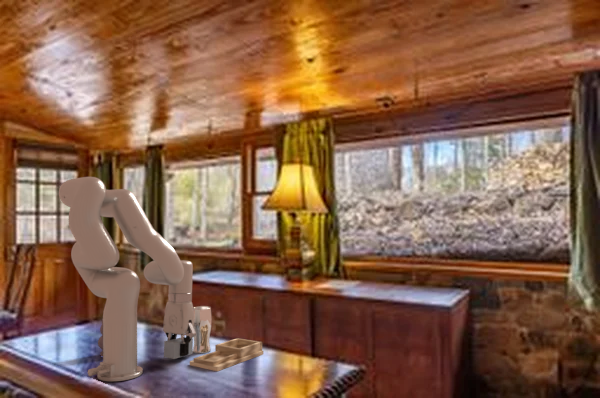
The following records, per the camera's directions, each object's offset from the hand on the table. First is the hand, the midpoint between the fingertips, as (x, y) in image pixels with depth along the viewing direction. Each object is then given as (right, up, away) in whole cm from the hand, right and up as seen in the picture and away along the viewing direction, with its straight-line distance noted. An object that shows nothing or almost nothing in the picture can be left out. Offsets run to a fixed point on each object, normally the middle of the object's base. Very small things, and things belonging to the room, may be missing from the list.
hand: (178, 353), depth 165 cm
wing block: (0, 0, 0) cm, 0 cm away
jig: (+16, -1, -1) cm, 16 cm away
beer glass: (+6, -2, +10) cm, 12 cm away
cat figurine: (-25, -3, +6) cm, 26 cm away
